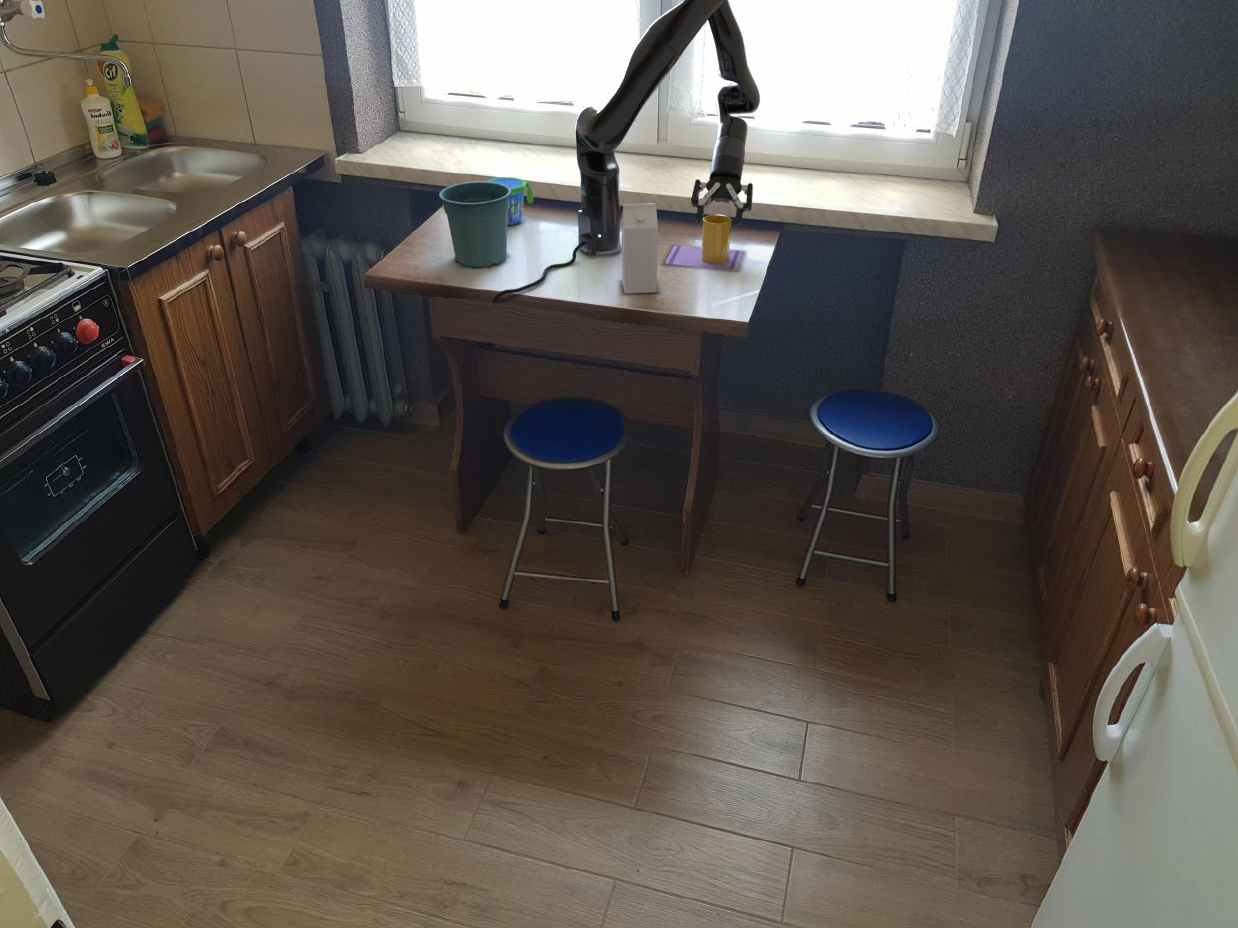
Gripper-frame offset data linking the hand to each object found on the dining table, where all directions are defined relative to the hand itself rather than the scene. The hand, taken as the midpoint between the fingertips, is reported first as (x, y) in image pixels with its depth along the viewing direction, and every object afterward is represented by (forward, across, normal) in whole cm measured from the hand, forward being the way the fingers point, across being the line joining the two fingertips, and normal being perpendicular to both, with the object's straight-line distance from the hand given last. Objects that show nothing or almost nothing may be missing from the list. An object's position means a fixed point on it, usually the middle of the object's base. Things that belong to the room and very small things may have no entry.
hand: (718, 224), depth 225 cm
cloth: (+7, -2, +4) cm, 8 cm away
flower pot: (+16, -55, -4) cm, 57 cm away
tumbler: (+7, 0, +4) cm, 8 cm away
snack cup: (-2, -57, +14) cm, 58 cm away
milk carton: (+21, -14, -10) cm, 28 cm away
